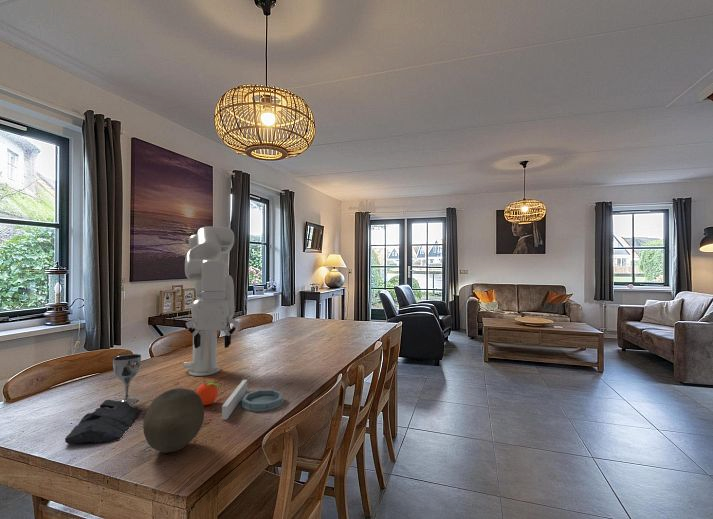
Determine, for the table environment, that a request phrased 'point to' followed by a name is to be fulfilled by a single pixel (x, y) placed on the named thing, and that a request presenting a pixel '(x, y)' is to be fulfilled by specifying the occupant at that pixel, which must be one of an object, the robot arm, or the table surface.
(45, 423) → the table surface
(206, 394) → the clementine
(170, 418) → the cantaloupe
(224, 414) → the low wall
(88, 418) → the dark slate chunk
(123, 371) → the wine glass
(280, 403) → the grey shallow dish
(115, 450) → the table surface
